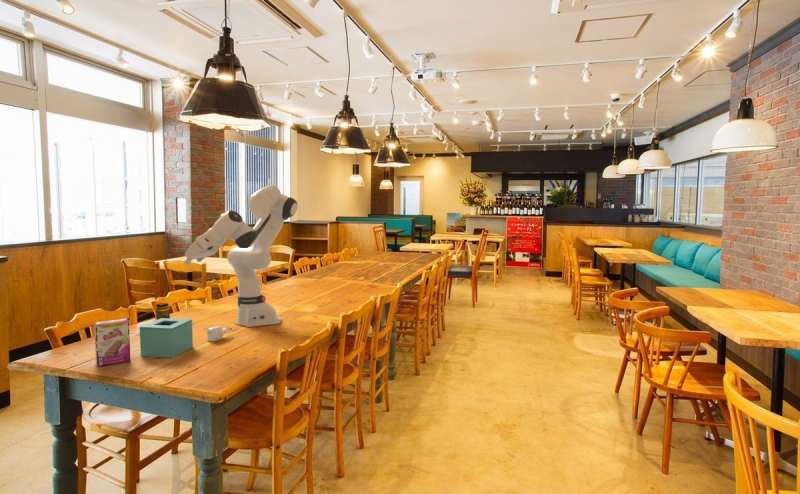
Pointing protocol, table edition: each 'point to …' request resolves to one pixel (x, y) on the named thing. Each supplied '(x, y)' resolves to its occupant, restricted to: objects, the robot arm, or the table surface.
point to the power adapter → (216, 333)
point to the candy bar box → (112, 342)
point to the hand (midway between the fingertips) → (192, 262)
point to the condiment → (162, 311)
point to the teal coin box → (166, 337)
